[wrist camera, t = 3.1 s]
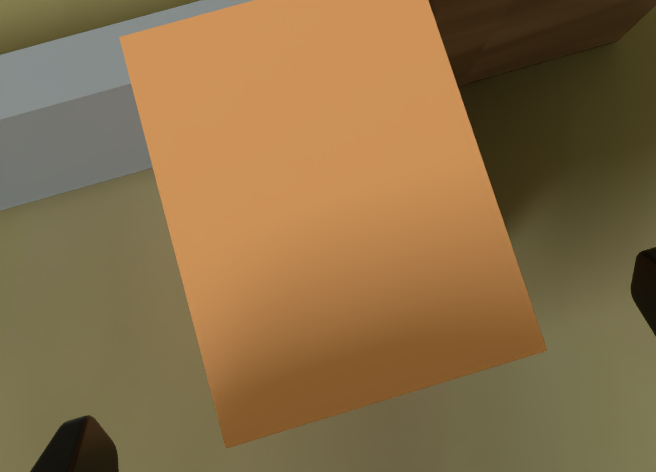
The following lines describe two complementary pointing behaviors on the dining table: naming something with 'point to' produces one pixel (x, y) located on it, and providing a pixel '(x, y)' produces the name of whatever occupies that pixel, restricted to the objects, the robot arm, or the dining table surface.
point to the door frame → (527, 31)
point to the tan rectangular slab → (325, 207)
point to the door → (75, 110)
